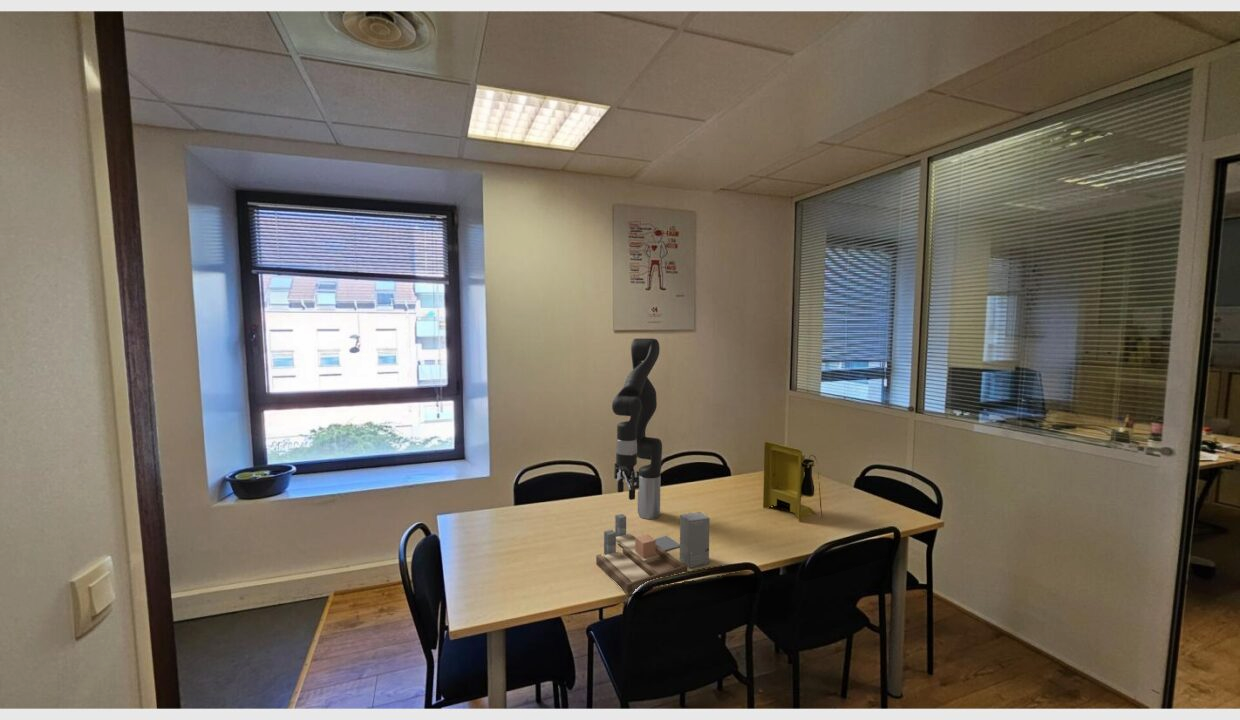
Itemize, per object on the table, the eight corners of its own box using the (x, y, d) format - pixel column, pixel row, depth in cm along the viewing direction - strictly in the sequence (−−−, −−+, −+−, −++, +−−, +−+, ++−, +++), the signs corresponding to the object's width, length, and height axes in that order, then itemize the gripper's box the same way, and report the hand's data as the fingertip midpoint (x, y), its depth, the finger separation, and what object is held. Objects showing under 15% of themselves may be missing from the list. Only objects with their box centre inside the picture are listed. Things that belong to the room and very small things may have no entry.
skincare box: (689, 568, 150) (689, 521, 149) (678, 558, 157) (678, 513, 156) (710, 563, 154) (711, 517, 152) (698, 553, 160) (699, 509, 159)
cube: (635, 551, 157) (635, 537, 156) (647, 548, 159) (647, 534, 159) (643, 557, 152) (643, 543, 152) (655, 554, 155) (655, 540, 155)
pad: (646, 542, 169) (646, 541, 169) (666, 536, 173) (666, 535, 173) (660, 552, 161) (660, 551, 161) (681, 546, 165) (681, 545, 165)
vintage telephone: (836, 521, 188) (839, 449, 186) (817, 529, 180) (819, 454, 178) (772, 497, 214) (774, 434, 212) (753, 504, 206) (754, 438, 204)
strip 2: (599, 555, 157) (599, 532, 156) (616, 550, 160) (616, 528, 159) (633, 587, 137) (633, 561, 137) (651, 581, 140) (651, 556, 140)
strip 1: (611, 537, 170) (611, 516, 170) (626, 533, 174) (626, 512, 173) (643, 563, 151) (643, 540, 150) (659, 559, 154) (660, 536, 154)
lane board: (596, 564, 153) (596, 554, 153) (651, 548, 164) (651, 539, 164) (628, 595, 135) (628, 584, 134) (687, 576, 146) (687, 565, 145)
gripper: (608, 448, 169) (608, 491, 169) (627, 457, 156) (626, 503, 157) (626, 446, 172) (625, 488, 173) (645, 454, 160) (645, 500, 160)
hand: (626, 495), depth 165 cm, fingers open, 8 cm apart
